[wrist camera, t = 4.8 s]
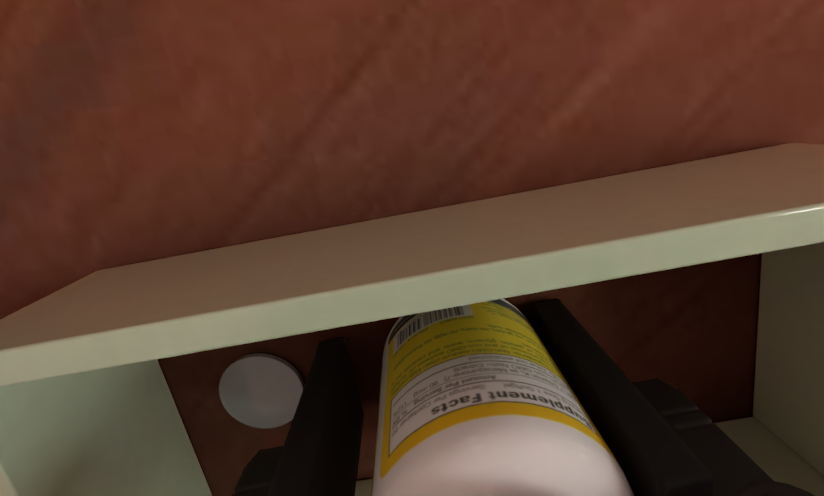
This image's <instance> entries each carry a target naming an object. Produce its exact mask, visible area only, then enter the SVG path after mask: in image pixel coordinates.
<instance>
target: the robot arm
mask: <svg viewBox="0 0 824 496" xmlns="http://www.w3.org/2000/svg"><path fill="white" fill-rule="evenodd" d="M533 311H534V320H535V329H536V333H537V335H538V337H539V338H540V340H541V341H542V343H543V344H544V346H545V347H546V349H547V351H548V352H549V354H550V355H551V357H552V359H553V360H554V362H555V363H556V365H557V367H558V368H559V370H560V371H561V373H562V374H563V376H564V378H565V379H566V381H567V382H568V384H569V386H570V387H571V389H572V390H573V392H574V394H575V395H576V397H577V398H578V400H579V402H580V403H581V405H582V406H583V408H584V409H585V411H586V413H587V414H588V416H589V417H590V419H591V421H592V422H593V424H594V425H595V427H596V428H597V430H598V431H599V433H600V435H601V436H602V438H603V439H604V441H605V442H606V444H607V446H608V447H609V449H610V450H611V452H612V453H613V455H614V457H615V458H616V460H617V462H618V463H619V465H620V467H621V469H622V470H623V472H624V474H625V476H626V479H627V481H628V483H629V485H630V487H631V489H632V492H633V494H634V496H815V495H813V494H812V493H810V492H808V491H805V490H803V489H800V488H798V487H795V486H793V485H790V484H787V483H781V482H776V481H774V480H773V479H771V478H770V477H769V476H768V475H767V474H766V473H765V472H764V471H763V470H762V469H761V468H760V467H759V466H758V465H757V464H756V463H755V462H754V461H753V460H752V459H751V458H750V457H749V456H748V455H747V454H746V453H745V452H744V451H743V450H742V449H741V448H740V447H738V446H737V445H736V444H735V443H734V442H733V441H732V440H731V439H730V438H729V437H728V436H727V435H726V434H725V433H724V432H723V431H722V430H721V429H720V428H719V427H718V426H717V425H716V424H713V423H712V420H711V419H710V418H709V417H708V416H707V415H706V414H704V413H703V412H702V411H701V410H698V407H697V406H696V405H695V404H694V403H693V402H692V401H691V400H690V399H689V398H688V397H687V396H686V395H685V394H684V393H683V392H682V391H681V390H679V389H677V388H675V387H673V386H671V385H669V384H668V383H666V382H664V381H662V380H660V379H658V378H656V379H650V380H644V381H639V382H633V383H632V382H631V381H630V380H629V379H628V378H627V377H626V375H625V374H624V373H623V372H622V371H621V370H620V369H619V367H618V366H617V365H616V364H615V363H614V362H613V361H612V359H611V358H610V357H609V356H608V355H607V354H606V353H605V352H604V350H603V349H602V348H601V347H600V346H599V345H598V344H597V342H596V341H595V340H594V339H593V338H592V337H591V336H590V334H589V333H588V332H587V331H586V330H585V329H584V328H583V326H582V325H581V324H580V323H579V322H578V321H577V320H576V318H575V317H574V316H573V315H572V314H571V313H570V312H569V310H568V309H567V308H566V307H565V306H564V305H563V304H562V303H561V301H560V300H559V299H553V300H548V301H542V302H537V303H533ZM363 417H364V412H363V408H362V404H361V400H360V396H359V393H358V389H357V385H356V381H355V377H354V373H353V369H352V366H351V362H350V358H349V354H348V350H347V346H346V342H345V338H339V339H334V340H328V341H323V342H319V345H318V348H317V351H316V353H315V356H314V359H313V362H312V365H311V368H310V371H309V374H308V377H307V380H306V383H305V386H304V389H303V392H302V394H301V397H300V400H299V403H298V406H297V409H296V412H295V415H294V418H293V421H292V424H291V427H290V430H289V433H288V435H287V438H286V441H285V444H284V446H281V447H275V448H270V449H264V450H259V452H258V453H257V454H256V455H255V456H254V457H253V459H252V460H251V461H250V462H249V463H248V464H247V466H246V467H245V468H244V469H243V471H242V474H241V476H240V478H239V481H238V483H237V485H236V488H235V493H233V495H232V496H355V490H356V480H357V471H358V462H359V453H360V444H361V435H362V426H363Z"/></svg>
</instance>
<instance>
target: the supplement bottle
mask: <svg viewBox="0 0 824 496" xmlns="http://www.w3.org/2000/svg"><path fill="white" fill-rule="evenodd" d="M371 496H634V494H633V492H632V489H631V487H630V485H629V483H628V481H627V479H626V476H625V474H624V472H623V470H622V469H621V467H620V465H619V463H618V462H617V460H616V458H615V457H614V455H613V453H612V452H611V450H610V449H609V447H608V446H607V444H606V442H605V441H604V439H603V438H602V436H601V435H600V433H599V431H598V430H597V428H596V427H595V425H594V424H593V422H592V421H591V419H590V417H589V416H588V414H587V413H586V411H585V409H584V408H583V406H582V405H581V403H580V402H579V400H578V398H577V397H576V395H575V394H574V392H573V390H572V389H571V387H570V386H569V384H568V382H567V381H566V379H565V378H564V376H563V374H562V373H561V371H560V370H559V368H558V367H557V365H556V363H555V362H554V360H553V359H552V357H551V355H550V354H549V352H548V351H547V349H546V347H545V346H544V344H543V343H542V341H541V340H540V338H539V337H538V335H537V333H536V332H535V330H534V329H533V327H532V326H531V324H530V323H529V321H528V320H527V319H526V317H525V316H524V315H523V314H522V313H521V312H520V311H519V310H518V309H517V308H516V307H515V306H514V305H512V304H511V303H509V302H508V301H506V300H505V299H498V300H492V301H486V302H480V303H475V304H469V305H463V306H458V307H452V308H446V309H441V310H435V311H429V312H424V313H418V314H412V315H406V316H401V317H400V318H399V319H398V320H397V322H396V323H395V324H394V326H393V328H392V329H391V331H390V333H389V335H388V338H387V340H386V343H385V347H384V351H383V358H382V368H381V383H380V395H379V410H378V424H377V436H376V450H375V461H374V472H373V483H372V494H371Z"/></svg>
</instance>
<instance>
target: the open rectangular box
mask: <svg viewBox="0 0 824 496" xmlns="http://www.w3.org/2000/svg"><path fill="white" fill-rule="evenodd" d="M759 253H762V256H761V274H760V292H759V309H758V327H757V345H756V363H755V380H754V398H753V416H754V417H747V418H741V419H735V420H729V421H723V422H717V423H713V424H716V425H717V426H718V427H719V428H720V429H721V430H722V431H723V432H724V433H725V434H726V435H727V436H728V437H729V438H730V439H731V440H732V441H733V442H734V443H735V444H736V445H737V446H738V447H740V448H741V449H742V450H743V451H744V452H745V453H746V454H747V455H748V456H749V457H750V458H751V459H752V460H753V461H754V462H755V463H756V464H757V465H758V466H759V467H760V468H761V469H762V470H763V471H764V472H765V473H766V474H767V475H768V476H769V477H770V478H771V479H773V480H774V481H776V482H781V483H787V484H790V485H793V486H795V487H798V488H800V489H803V490H805V491H808V492H810V493H812V494H813V495H815V496H824V145H819V144H805V143H787V144H782V145H776V146H771V147H765V148H760V149H755V150H749V151H744V152H738V153H733V154H727V155H722V156H717V157H711V158H706V159H700V160H695V161H689V162H684V163H679V164H673V165H668V166H662V167H657V168H651V169H646V170H641V171H635V172H630V173H624V174H619V175H613V176H608V177H603V178H597V179H592V180H586V181H581V182H575V183H570V184H564V185H559V186H554V187H548V188H543V189H537V190H532V191H526V192H521V193H516V194H510V195H505V196H499V197H494V198H488V199H483V200H478V201H472V202H467V203H461V204H456V205H450V206H445V207H440V208H434V209H429V210H423V211H418V212H412V213H407V214H402V215H396V216H391V217H385V218H380V219H374V220H369V221H363V222H358V223H353V224H347V225H342V226H336V227H331V228H325V229H320V230H315V231H309V232H304V233H298V234H293V235H287V236H282V237H277V238H271V239H266V240H260V241H255V242H249V243H244V244H239V245H233V246H228V247H222V248H217V249H211V250H206V251H201V252H195V253H190V254H184V255H179V256H173V257H168V258H162V259H157V260H152V261H146V262H141V263H135V264H130V265H124V266H119V267H114V268H108V269H103V270H97V271H95V272H93V273H91V274H90V275H88V276H86V277H84V278H82V279H80V280H78V281H76V282H74V283H72V284H70V285H68V286H66V287H64V288H62V289H60V290H58V291H56V292H54V293H52V294H50V295H48V296H46V297H44V298H42V299H40V300H38V301H36V302H34V303H32V304H30V305H28V306H26V307H24V308H22V309H20V310H18V311H16V312H14V313H12V314H10V315H8V316H7V317H5V318H3V319H1V320H0V496H212V493H211V491H210V488H209V486H208V483H207V481H206V478H205V476H204V473H203V471H202V468H201V466H200V463H199V461H198V459H197V456H196V454H195V451H194V449H193V446H192V444H191V441H190V439H189V436H188V434H187V431H186V429H185V426H184V424H183V422H182V419H181V417H180V414H179V412H178V409H177V407H176V404H175V402H174V399H173V397H172V394H171V392H170V389H169V387H168V384H167V382H166V380H165V377H164V375H163V372H162V370H161V367H160V365H159V362H158V360H157V359H162V358H167V357H173V356H179V355H185V354H190V353H196V352H202V351H207V350H213V349H219V348H224V347H230V346H236V345H241V344H247V343H253V342H259V341H264V340H270V339H276V338H281V337H287V336H293V335H298V334H304V333H310V332H315V331H321V330H327V329H332V328H338V327H344V326H350V325H355V324H361V323H367V322H372V321H378V320H384V319H389V318H395V317H401V316H406V315H412V314H418V313H424V312H429V311H435V310H441V309H446V308H452V307H458V306H463V305H469V304H475V303H480V302H486V301H492V300H498V299H503V298H509V297H515V296H520V295H526V294H532V293H537V292H543V291H549V290H554V289H560V288H566V287H572V286H577V285H583V284H589V283H594V282H600V281H606V280H611V279H617V278H623V277H628V276H634V275H640V274H646V273H651V272H657V271H663V270H668V269H674V268H680V267H685V266H691V265H697V264H702V263H708V262H714V261H720V260H725V259H731V258H737V257H742V256H748V255H754V254H759ZM303 389H304V382H303V379H302V377H301V376H300V374H299V372H298V371H297V370H296V369H295V368H294V367H293V366H292V365H291V364H290V363H289V362H287V361H286V360H284V359H282V358H280V357H277V356H274V355H271V354H264V353H255V354H249V355H245V356H243V357H240V358H238V359H236V360H235V361H234V362H232V363H231V364H230V365H229V366H228V367H227V369H226V370H225V371H224V373H223V375H222V377H221V379H220V383H219V396H220V400H221V402H222V405H223V406H224V408H225V409H226V411H227V412H228V413H229V414H230V415H231V416H232V417H233V418H234V419H236V420H237V421H239V422H241V423H242V424H245V425H247V426H250V427H254V428H260V429H270V428H276V427H279V426H282V425H284V424H286V423H288V422H290V421H291V420H292V419H293V418H294V415H295V412H296V409H297V406H298V403H299V400H300V397H301V394H302V392H303ZM372 483H373V479H367V480H360V481H356V490H355V496H371V494H372Z"/></svg>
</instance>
